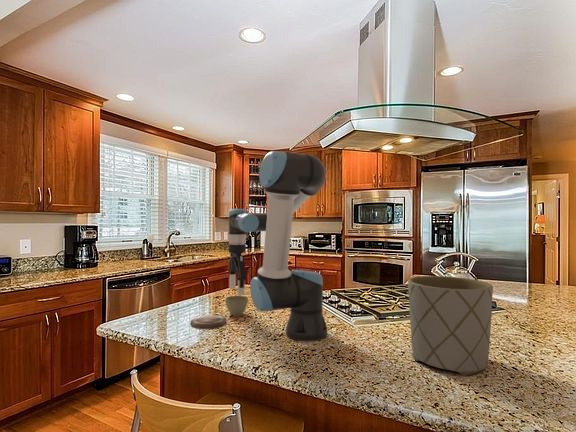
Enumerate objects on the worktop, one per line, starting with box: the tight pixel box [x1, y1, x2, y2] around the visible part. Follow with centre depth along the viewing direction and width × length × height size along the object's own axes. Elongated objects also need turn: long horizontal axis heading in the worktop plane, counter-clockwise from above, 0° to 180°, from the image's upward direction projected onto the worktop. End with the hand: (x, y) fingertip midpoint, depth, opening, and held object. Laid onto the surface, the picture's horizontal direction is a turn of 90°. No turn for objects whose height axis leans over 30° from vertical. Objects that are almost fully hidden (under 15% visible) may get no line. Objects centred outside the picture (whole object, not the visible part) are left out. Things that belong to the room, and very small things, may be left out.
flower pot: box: [224, 295, 249, 317], centre depth 152 cm, size 10×10×7 cm
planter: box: [407, 275, 494, 377], centre depth 103 cm, size 23×23×24 cm
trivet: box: [190, 314, 227, 329], centre depth 139 cm, size 14×14×2 cm
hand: (236, 291), depth 153 cm, fingers open, 13 cm apart
